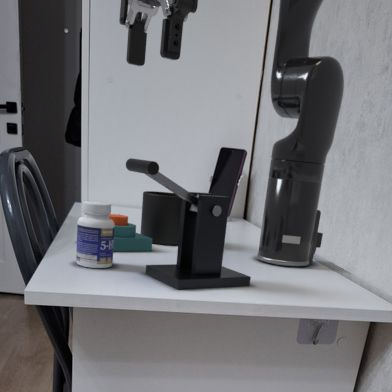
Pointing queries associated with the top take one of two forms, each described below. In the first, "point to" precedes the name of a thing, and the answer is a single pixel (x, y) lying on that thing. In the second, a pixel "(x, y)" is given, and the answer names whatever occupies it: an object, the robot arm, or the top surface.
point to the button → (119, 219)
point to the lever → (162, 180)
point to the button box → (130, 239)
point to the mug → (161, 217)
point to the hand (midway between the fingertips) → (151, 62)
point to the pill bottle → (95, 236)
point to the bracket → (200, 248)
